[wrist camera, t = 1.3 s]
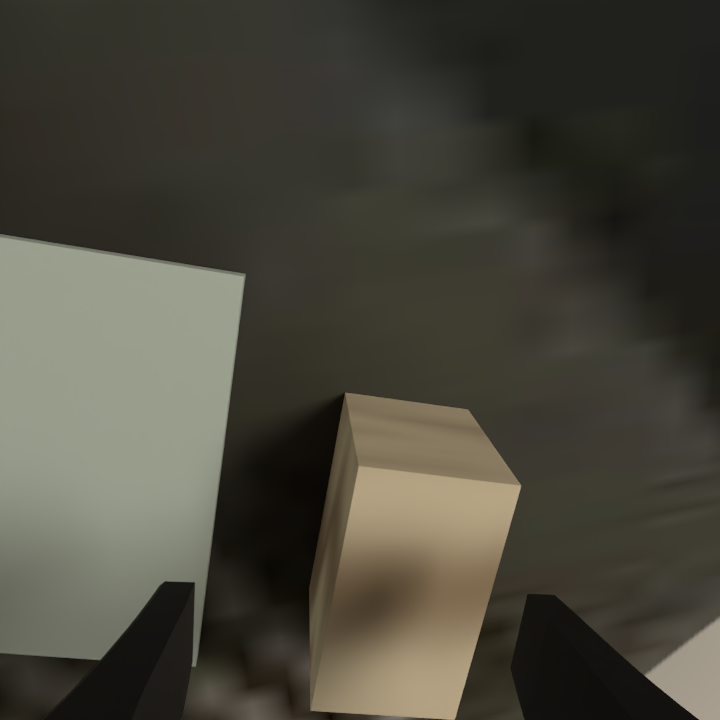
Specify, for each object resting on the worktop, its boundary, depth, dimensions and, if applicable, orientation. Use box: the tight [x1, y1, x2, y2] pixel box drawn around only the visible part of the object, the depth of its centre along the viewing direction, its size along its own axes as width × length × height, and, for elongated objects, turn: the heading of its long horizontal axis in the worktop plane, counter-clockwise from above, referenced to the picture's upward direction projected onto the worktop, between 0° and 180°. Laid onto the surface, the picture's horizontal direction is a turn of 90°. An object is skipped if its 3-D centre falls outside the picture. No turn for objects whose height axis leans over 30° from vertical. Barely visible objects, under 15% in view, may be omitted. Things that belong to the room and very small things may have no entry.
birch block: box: [309, 393, 521, 720], centre depth 19 cm, size 8×4×6 cm, turn 170°
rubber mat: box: [0, 234, 245, 667], centre depth 20 cm, size 15×14×1 cm
